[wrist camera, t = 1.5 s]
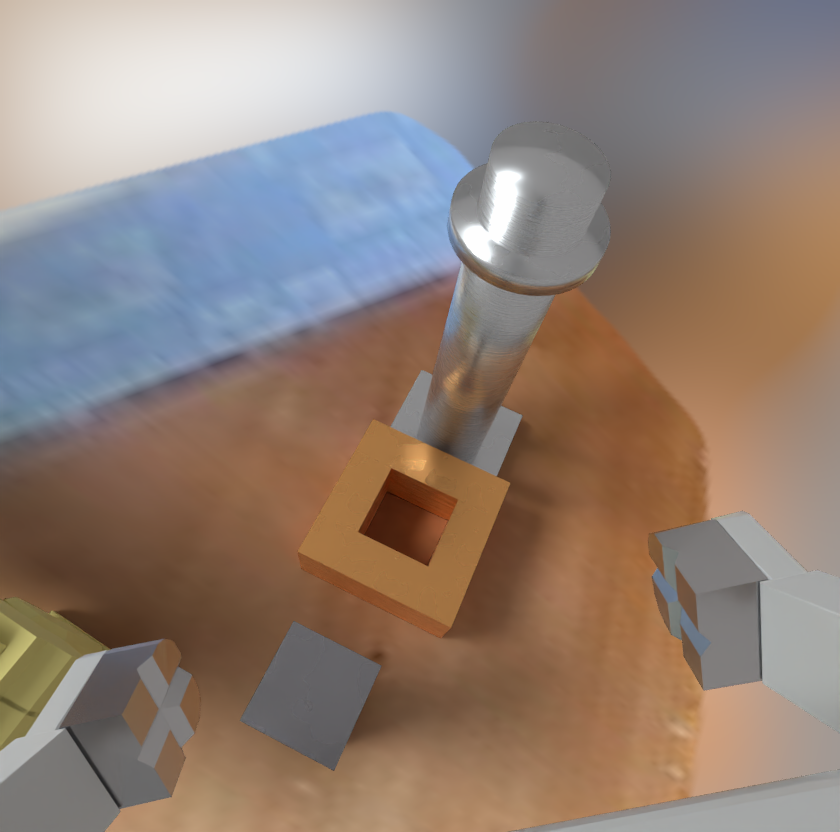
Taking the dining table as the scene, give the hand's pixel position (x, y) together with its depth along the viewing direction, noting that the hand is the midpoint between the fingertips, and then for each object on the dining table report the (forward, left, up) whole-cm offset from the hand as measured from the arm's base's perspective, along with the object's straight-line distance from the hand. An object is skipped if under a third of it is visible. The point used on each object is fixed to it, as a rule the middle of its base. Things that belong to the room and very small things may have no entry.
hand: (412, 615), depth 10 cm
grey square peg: (-2, +1, -28) cm, 28 cm away
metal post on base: (+9, +10, -28) cm, 31 cm away
